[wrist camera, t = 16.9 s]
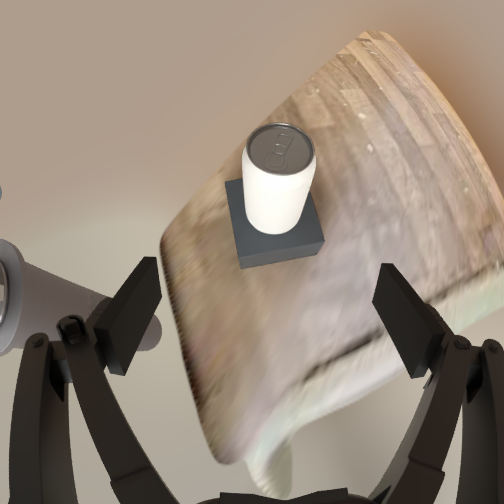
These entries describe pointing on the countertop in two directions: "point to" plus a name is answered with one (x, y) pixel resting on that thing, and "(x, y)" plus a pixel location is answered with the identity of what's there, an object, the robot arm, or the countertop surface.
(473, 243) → the countertop surface
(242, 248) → the grey block
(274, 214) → the can
